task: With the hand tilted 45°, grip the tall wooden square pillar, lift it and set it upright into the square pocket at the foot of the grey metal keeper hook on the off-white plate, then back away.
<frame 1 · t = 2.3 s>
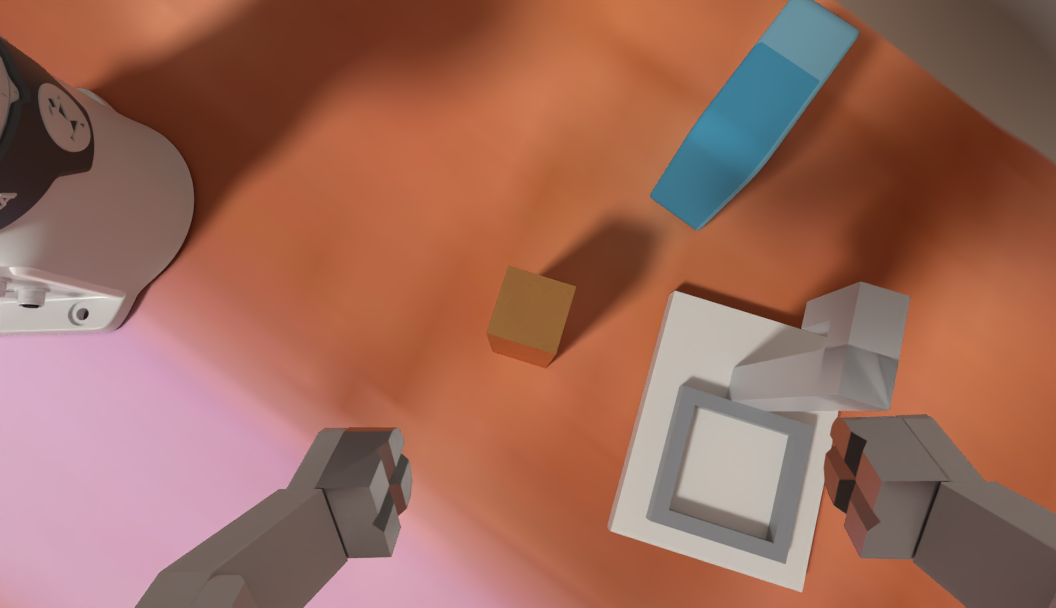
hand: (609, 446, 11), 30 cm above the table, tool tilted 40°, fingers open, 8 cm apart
data package: (711, 162, 45), on the table
keeper: (725, 440, 41), on the table
wooden square pillar: (527, 333, 42), on the table
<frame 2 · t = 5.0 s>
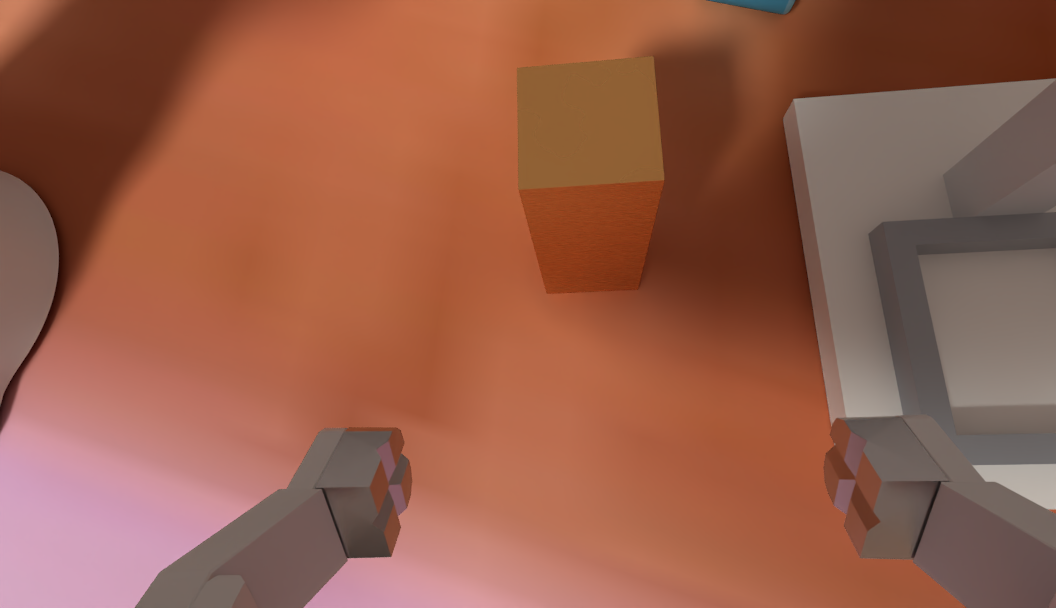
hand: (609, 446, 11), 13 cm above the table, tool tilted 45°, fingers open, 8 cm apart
keeper: (978, 298, 23), on the table
wooden square pillar: (589, 249, 26), on the table
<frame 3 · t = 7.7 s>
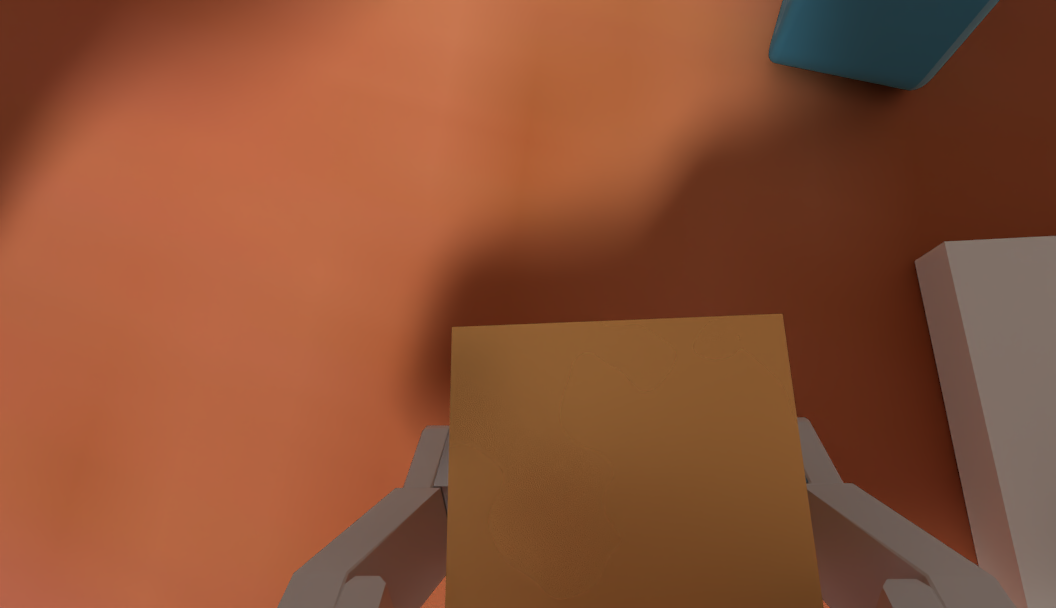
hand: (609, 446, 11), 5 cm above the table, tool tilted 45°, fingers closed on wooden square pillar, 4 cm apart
wooden square pillar: (606, 477, 16), on the table, touching gripper
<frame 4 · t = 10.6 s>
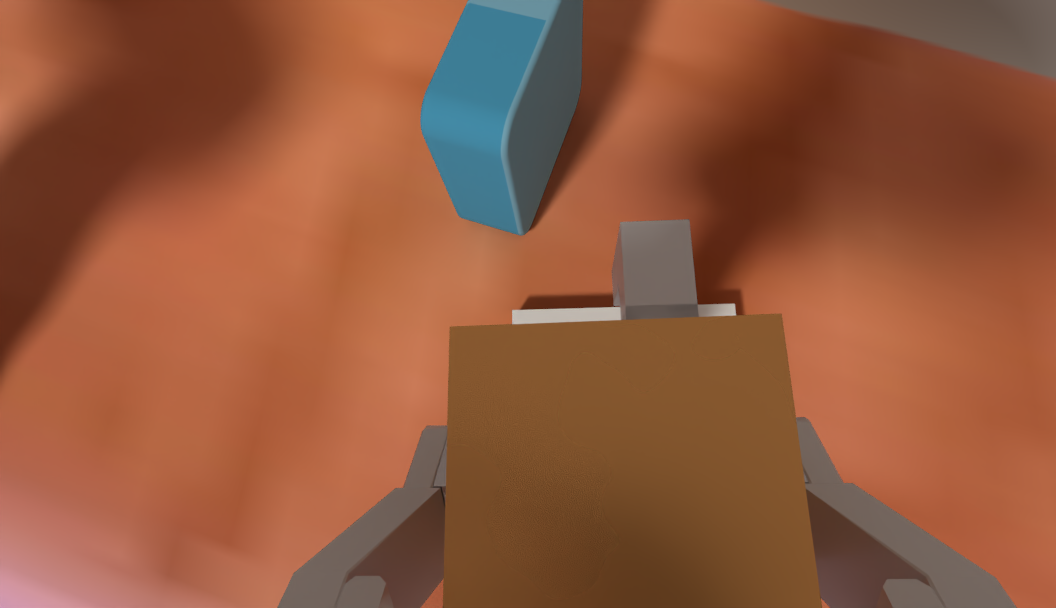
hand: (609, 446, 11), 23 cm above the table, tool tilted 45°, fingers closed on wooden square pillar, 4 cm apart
data package: (523, 159, 39), on the table
keeper: (628, 465, 33), on the table
wooden square pillar: (605, 477, 16), point 18 cm above the table, touching gripper
when the fingers open (9 cm above the table, at t = 13.7 s): wooden square pillar drops 2 cm, resting on keeper.
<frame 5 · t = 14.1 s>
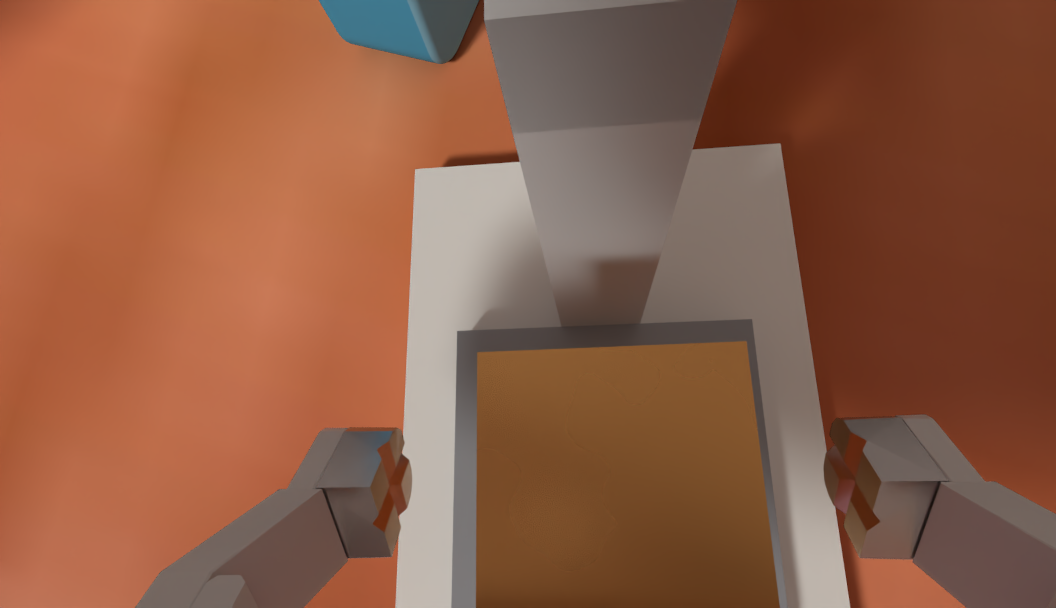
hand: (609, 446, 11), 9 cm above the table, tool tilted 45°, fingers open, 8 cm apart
keeper: (603, 415, 20), on the table
wooden square pillar: (606, 476, 18), point 1 cm above the table, touching keeper
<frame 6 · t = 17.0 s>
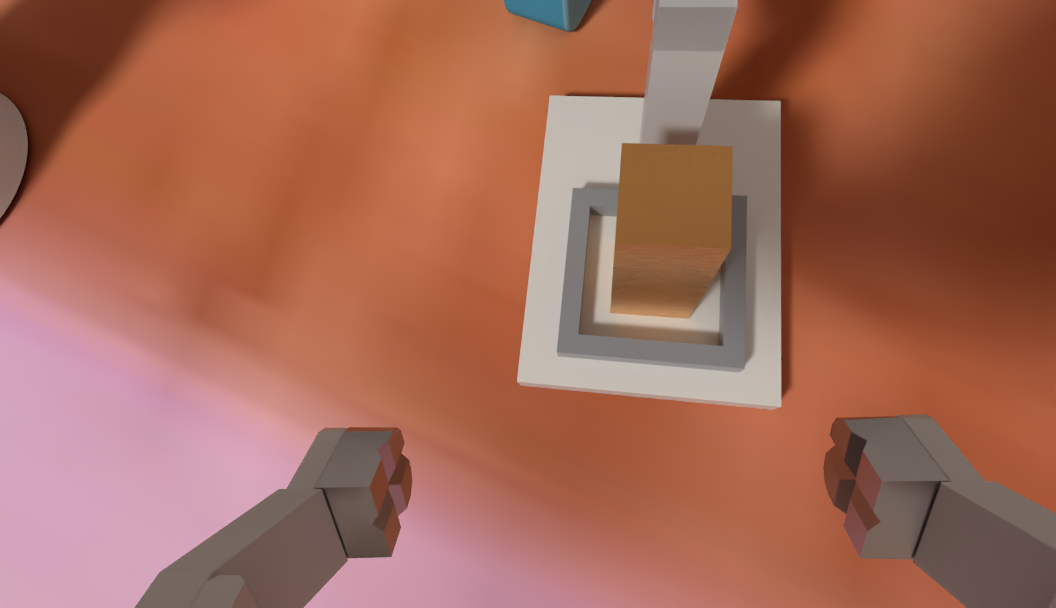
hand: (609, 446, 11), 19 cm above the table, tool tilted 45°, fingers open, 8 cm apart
keeper: (651, 254, 32), on the table
wooden square pillar: (650, 279, 30), point 1 cm above the table, touching keeper
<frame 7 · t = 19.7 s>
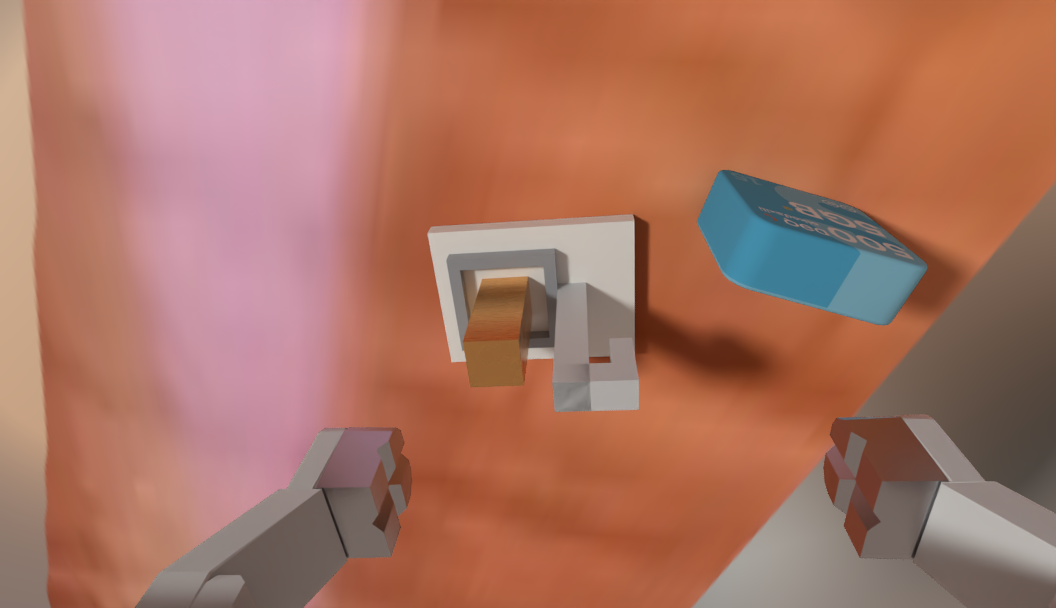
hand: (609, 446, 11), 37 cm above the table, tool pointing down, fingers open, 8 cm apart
data package: (772, 211, 47), on the table
keeper: (531, 289, 52), on the table
wooden square pillar: (507, 298, 50), point 1 cm above the table, touching keeper
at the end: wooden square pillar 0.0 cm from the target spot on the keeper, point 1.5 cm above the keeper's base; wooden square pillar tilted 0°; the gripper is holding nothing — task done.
